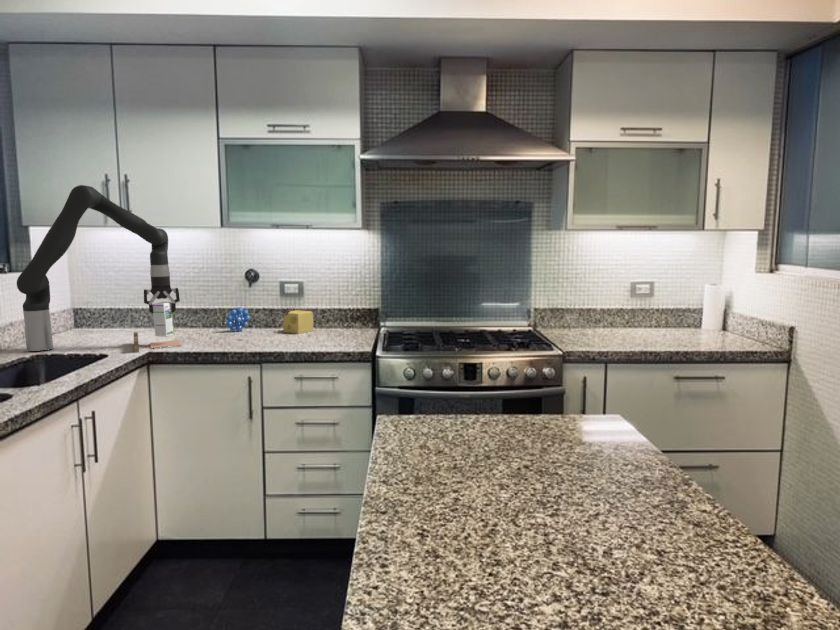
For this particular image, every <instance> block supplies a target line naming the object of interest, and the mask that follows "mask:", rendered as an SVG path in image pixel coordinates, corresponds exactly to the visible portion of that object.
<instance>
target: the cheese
mask: <svg viewBox="0 0 840 630" xmlns="http://www.w3.org/2000/svg"><path fill="white" fill-rule="evenodd" d="M283 323H284V324H283V333H287V334H288V333H289V334H295V335H301V334H304V333H309V332H313V331H314V313H313V311H308V310H301V309H300V310H299V309H296V310H292V311H291V310H290V311H289V312H287V314H286V316H284V317H283Z"/></svg>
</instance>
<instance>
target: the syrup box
mask: <svg viewBox="0 0 840 630" xmlns="http://www.w3.org/2000/svg"><path fill="white" fill-rule="evenodd" d="M152 305H153V313H152V316H153V326H154V336H155V337H161V338H163V337H170V336H173V335H175V326H174V325H175V324H174V323H175V322H174V312H172V302H171V301H159V302H156V303H152Z"/></svg>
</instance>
